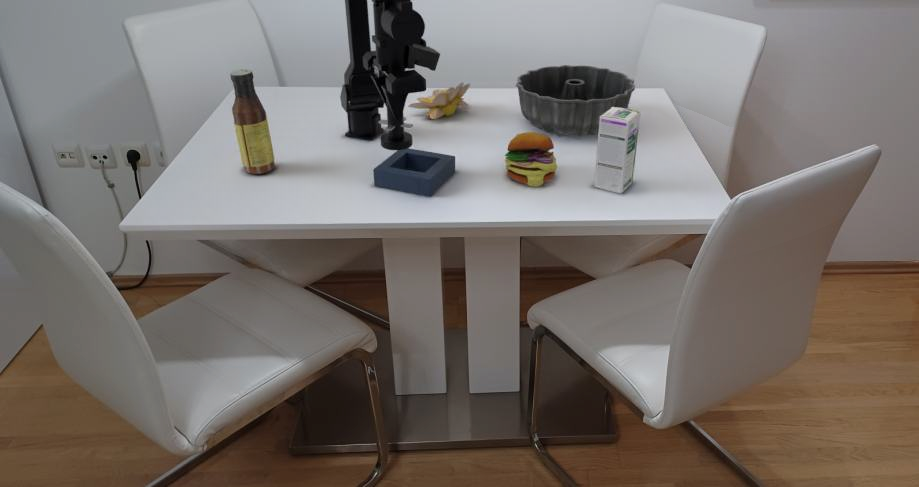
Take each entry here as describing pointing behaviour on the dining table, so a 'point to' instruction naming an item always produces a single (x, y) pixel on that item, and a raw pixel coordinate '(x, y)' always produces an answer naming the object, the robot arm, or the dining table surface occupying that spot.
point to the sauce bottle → (251, 125)
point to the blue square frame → (404, 180)
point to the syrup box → (616, 149)
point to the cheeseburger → (531, 159)
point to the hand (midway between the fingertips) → (395, 116)
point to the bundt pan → (571, 97)
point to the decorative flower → (443, 101)
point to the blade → (395, 132)
